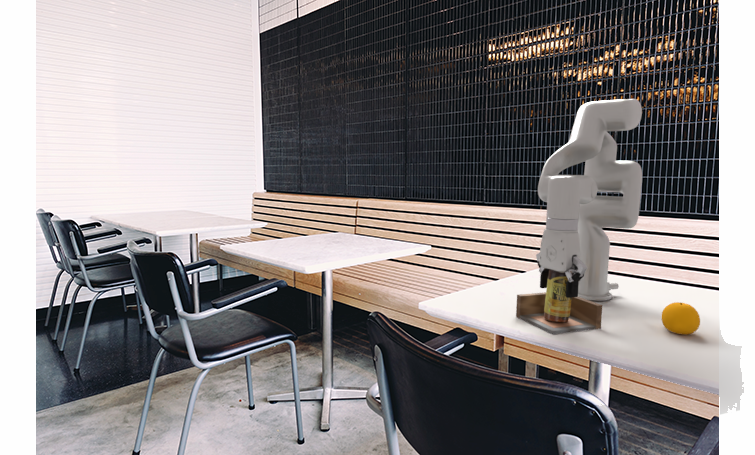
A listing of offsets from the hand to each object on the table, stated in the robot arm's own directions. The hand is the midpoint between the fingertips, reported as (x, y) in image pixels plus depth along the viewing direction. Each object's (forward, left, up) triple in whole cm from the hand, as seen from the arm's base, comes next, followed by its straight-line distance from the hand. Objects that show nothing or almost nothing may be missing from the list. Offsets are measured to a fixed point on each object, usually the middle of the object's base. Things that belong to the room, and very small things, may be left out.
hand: (558, 292), depth 120 cm
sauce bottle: (0, 0, -7) cm, 8 cm away
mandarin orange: (-25, +14, -9) cm, 30 cm away
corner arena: (-1, -1, -8) cm, 8 cm away
